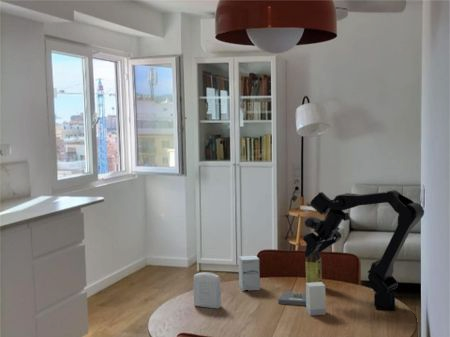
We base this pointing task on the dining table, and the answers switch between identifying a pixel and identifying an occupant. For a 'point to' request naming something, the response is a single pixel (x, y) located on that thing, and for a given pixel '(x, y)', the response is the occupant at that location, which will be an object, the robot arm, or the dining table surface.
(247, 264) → the supplement box
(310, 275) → the sauce bottle
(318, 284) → the white rectangular block
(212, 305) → the white arched block
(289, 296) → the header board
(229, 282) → the dining table surface
